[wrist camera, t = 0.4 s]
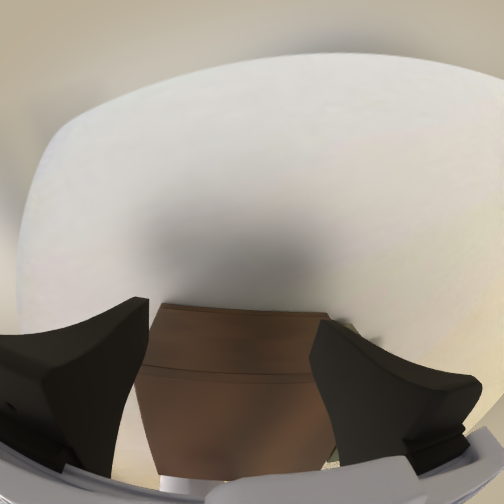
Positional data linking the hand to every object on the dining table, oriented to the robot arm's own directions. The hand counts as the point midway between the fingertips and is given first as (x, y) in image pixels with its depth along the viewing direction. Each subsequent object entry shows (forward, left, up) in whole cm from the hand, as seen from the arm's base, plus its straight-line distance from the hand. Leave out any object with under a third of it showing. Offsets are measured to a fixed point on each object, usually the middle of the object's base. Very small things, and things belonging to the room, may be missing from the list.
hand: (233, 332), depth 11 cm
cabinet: (-10, -2, -10) cm, 14 cm away
